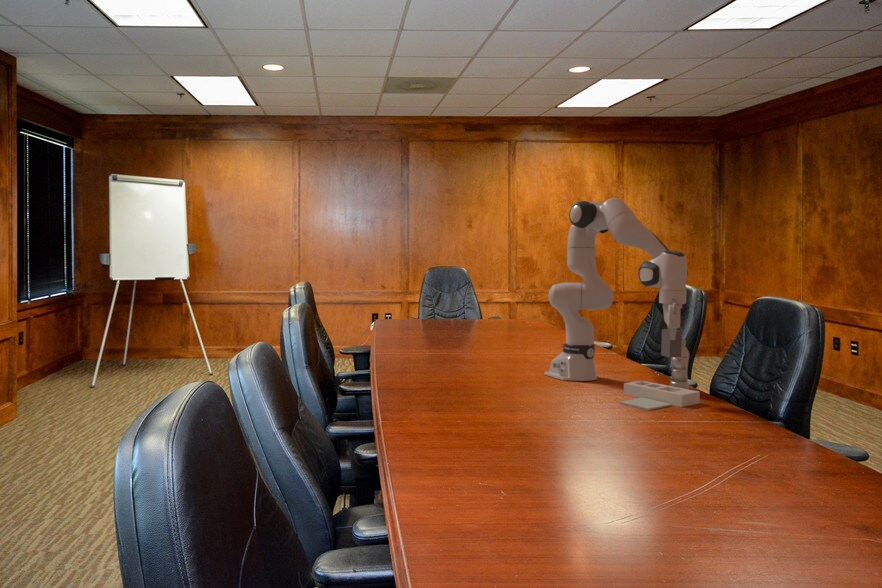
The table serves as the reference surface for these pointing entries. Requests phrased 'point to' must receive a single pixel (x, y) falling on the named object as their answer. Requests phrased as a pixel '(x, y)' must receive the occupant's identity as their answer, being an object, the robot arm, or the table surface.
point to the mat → (645, 403)
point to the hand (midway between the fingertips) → (671, 338)
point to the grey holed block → (662, 393)
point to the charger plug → (671, 344)
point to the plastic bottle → (680, 368)
